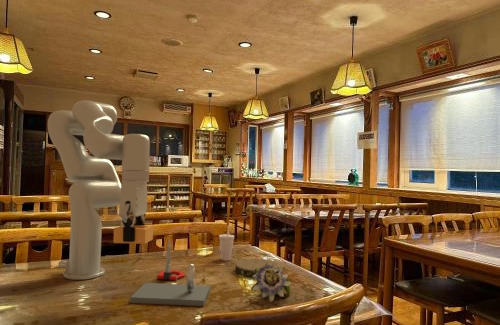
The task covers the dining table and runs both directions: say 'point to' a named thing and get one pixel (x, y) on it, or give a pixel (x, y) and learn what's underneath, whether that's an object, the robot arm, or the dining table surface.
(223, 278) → the dining table surface
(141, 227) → the wooden masu cup
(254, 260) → the wood slice
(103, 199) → the robot arm
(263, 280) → the passion flower
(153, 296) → the board
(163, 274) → the tow hook
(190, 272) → the post
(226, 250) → the smoothie
